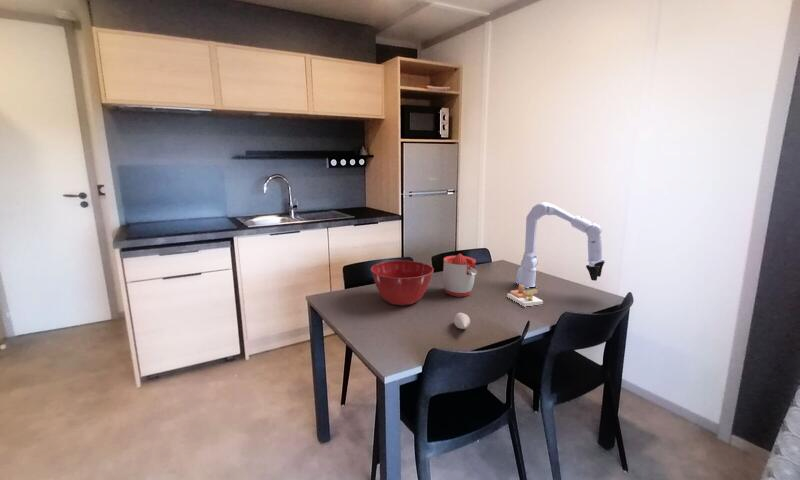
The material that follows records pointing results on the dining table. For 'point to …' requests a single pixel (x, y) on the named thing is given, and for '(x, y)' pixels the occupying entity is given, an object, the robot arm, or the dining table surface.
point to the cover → (519, 292)
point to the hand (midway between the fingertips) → (596, 278)
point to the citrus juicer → (459, 275)
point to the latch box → (525, 300)
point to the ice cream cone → (462, 321)
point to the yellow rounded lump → (530, 293)
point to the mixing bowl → (402, 280)
